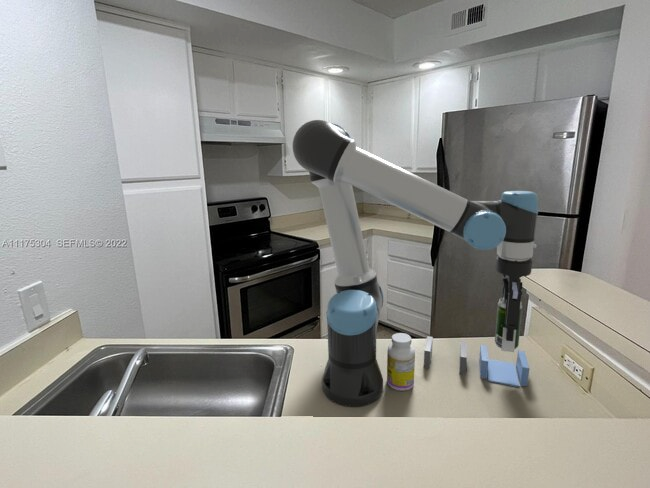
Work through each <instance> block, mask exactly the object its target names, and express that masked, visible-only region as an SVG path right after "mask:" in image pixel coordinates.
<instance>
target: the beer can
mask: <svg viewBox="0 0 650 488" xmlns="http://www.w3.org/2000/svg"><path fill="white" fill-rule="evenodd" d="M522 303H523V302H522V301H521V302H520V312H519V323H518V327H519V328H518V330H516V338H515V348H514V351H515V350H516V349H517V348H518V347H519V343H520V342H519V341H520V333H521V323H522V315H523V314H522V312H523V305H522ZM505 309H506V299H505V298H502V297H501V298H499V300H498V302H497V309H496V310H497V311H496V323H495V333H494V334H495V335H494V343H495V345H496V346H497V347H498V348H500V349H501V348H502V337H503V327H501V324H503V325H504V324H505Z"/></svg>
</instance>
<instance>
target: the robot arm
mask: <svg viewBox="0 0 650 488" xmlns="http://www.w3.org/2000/svg"><path fill="white" fill-rule="evenodd" d="M346 130H347V129H344V127H342V126H341V125H338V124H336V123H331V122H328V121H326V120H321V119H315V120H314V119H313V120H309V121H307V122H305V123H304V124H302V125H301V126H300V127H299V128H298V129H297V130H296V131H295V134H294V137H293V139H292V153H293V156H294V158H295V160H296V162H297V163H298V164H299V165H300V166H301V168H303V169H305V170H306V171H308V173H309V174H308V175H309V179H310V183H311V184H312V185H314V186H316V187H317V188H318V192H319V195H320V200H321V203H322V208H323V213H324V214H323V215H324V218H325V222H326V226H327V227H326V228H327V232H328V236H329V240H330V241H329V242H330V244H331V248H332V249H331V250H332V253H333V254H332V255H333V257H334V262H335V267H336V270H337V271H336V272H337V276H336V277H335V279H334V280H333V284H334V287H335V291H336V293H335V294H333V295H332V296H331V297H330V299H329V300H328V302H327V306H326V307H327V308H326V312H325V313H326V321H327V322H326V324H327V325H326V326H327V352H328V358H327V361H326V365H325V368H324V370H323V373H322V378H321V386H322V392H323V394H324V393H325V394H324V395H325V396H326V398H328V399H329V400H330V401H331V402H334V403H335V404H338V405H339V406H344V407H353V408H355V407H362V406H368V405H369V404H372V403H374V402H376V401H377V400H378V399H379V398H380V397H381V396H382V394H383V390H384V379H383V374H382V371H381V369H380V366H379V363H378V359H377V331H378V324H379V319H380V317H381V311H382V308H383V306H384V305H383V304H384V292H383V289H382V287H381V285H380V284H379V281H378V277H377V273H376V271H375V270H373V269H372V268H371V267H370V266H369V262H368V257H367V252H366V246H365V242H364V237H363V231H362V228H361V222H360V218H359V213H358V209H357V202H356V199H355V193H354V189H353V187H355V188H357V189H359V190H361V191H364V192H366V193H368V194H370V195H372V196H373V197H376V198H378V199H380V200H383V201H384V202H386V203H388V204H391V205H393V206H395V207H397V208H399V209H401V210H403V211H405V212H408V213H409V214H411V215H414V216H415V217H418V218H419V219H422V220H424V221H426V222H428V223H430V224H432V225H433V226H436V227H438V228H440V229H443V230H445V231H447V232H448V233H450V234H452V235H454V236H456V237H458V238H460V239H462V240H463V241H465V242H466V243H467V244H468V245H469V246H471V247H473V248H474V249H477V250H480V251H489V250H492V249H493V250H494V249H495V248H496V255H497V256H496V262H495V270H496V272H497V273H499V274H501V275H502V279H501V283H502V288H501V290H502V292H501V298H505V299H506V309H505V324H504V325H503V324H501V327H503V337H502V348H500V349H501V351H502V352H509V353H514V352H515V350H514V348H515V338H516V330H518V328H519V327H518V323H519V312H520V302H522V295H523V291H522V290H523V281H522V278H523V277H527V276H530V275H532V270H533V269H532V268H533V259H532V258H533V255H534V249H536V248H537V247H538V246H537V244H536V243H535V235H536V227H537V221H538V214H539V196H538V194H537V193H536V192H533V191H529V190H508V191H504V192H502V193H501V197H500V199H497V200H469V199H467V198H465V197H463V196H461V195H458V194H457V193H454V192H452V191H450V190H448V189H446V188H445V187H441V186H440V185H438V184H436V183H433V182H431V181H429V180H427V179H426V178H422V177H420V176H419V175H416V174H415V173H413V172H411V171H408V170H406V169H404V168H402V167H399V166H397V165H396V164H394V163H391V162H389V161H387V160H385V159H382V158H381V157H379V156H376V155H374V154H372V153H370V152H368V151H366V150H364V149H361V148H360V147H358V146H357V143H356V141H355V140H354V139H352V138H351V136H350V134H349V133H348V132H347V131H346Z"/></svg>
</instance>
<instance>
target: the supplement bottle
mask: <svg viewBox="0 0 650 488" xmlns="http://www.w3.org/2000/svg"><path fill="white" fill-rule="evenodd" d="M386 351H387V353H386V354H387V355H386V356H387V357H386V358H387V360H386V363H387V365H386V366H387V367H386V381H387V385H389V387H390V388H392V389H393V390H396V391H403V392H405V391H409V390H411V389H412V388H413V386H414V384H415V362H416V349H415V348H414V346H413V345H412V336H410V335H409V334H408V333H404V332H396V333H394V334H392V336H391V343H390V344H389V345H388V347H387V350H386Z"/></svg>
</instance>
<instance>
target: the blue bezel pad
mask: <svg viewBox="0 0 650 488" xmlns="http://www.w3.org/2000/svg"><path fill="white" fill-rule="evenodd" d="M487 380H488V382H490V383H495V384H500V385H504V386H510V387H515V388H516V387H517V388H520V382H519V378H518V374H517V369H516V365H515V363H514V362H509V361H508V362H507V361H503V360H502V361H501V360H496V359H491V358H490V359H489V358H488V371H487Z"/></svg>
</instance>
